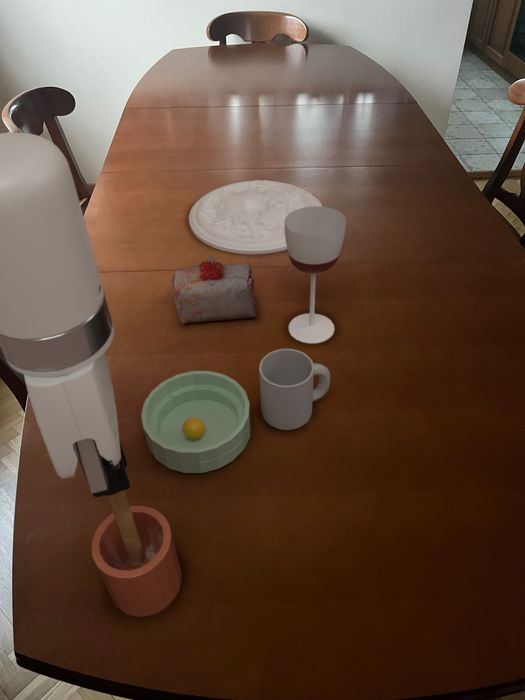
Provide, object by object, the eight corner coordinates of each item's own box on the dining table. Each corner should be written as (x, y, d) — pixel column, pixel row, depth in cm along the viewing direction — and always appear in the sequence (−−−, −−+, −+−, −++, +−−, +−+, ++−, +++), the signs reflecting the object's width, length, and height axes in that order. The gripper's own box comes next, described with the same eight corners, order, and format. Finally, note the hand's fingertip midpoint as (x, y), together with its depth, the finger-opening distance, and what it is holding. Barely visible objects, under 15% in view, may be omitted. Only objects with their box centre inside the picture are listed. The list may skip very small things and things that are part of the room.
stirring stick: (131, 567, 62) (90, 449, 48) (129, 554, 63) (87, 435, 49) (146, 562, 62) (109, 444, 49) (143, 549, 63) (107, 430, 50)
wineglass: (280, 316, 99) (279, 210, 85) (330, 309, 100) (337, 203, 86) (290, 347, 93) (291, 239, 80) (343, 340, 94) (353, 231, 81)
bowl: (156, 487, 75) (149, 464, 72) (141, 407, 85) (135, 383, 82) (263, 460, 78) (262, 436, 74) (236, 385, 88) (234, 361, 84)
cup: (254, 400, 85) (252, 355, 79) (319, 383, 87) (321, 339, 81) (270, 437, 80) (269, 393, 74) (338, 418, 82) (342, 374, 76)
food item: (175, 330, 97) (167, 282, 91) (176, 300, 103) (168, 253, 96) (257, 323, 98) (255, 274, 91) (254, 294, 104) (251, 246, 97)
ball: (197, 414, 81) (197, 435, 82) (178, 416, 79) (177, 438, 80) (209, 418, 79) (208, 440, 79) (189, 421, 77) (189, 443, 77)
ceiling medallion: (352, 218, 121) (353, 204, 119) (245, 272, 109) (244, 257, 107) (265, 172, 137) (264, 159, 135) (163, 214, 125) (161, 200, 123)
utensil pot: (113, 626, 63) (94, 587, 56) (106, 558, 68) (88, 516, 62) (187, 604, 64) (177, 564, 58) (175, 539, 70) (164, 497, 64)
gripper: (1, 270, 45) (65, 425, 58) (-9, 421, 34) (72, 572, 47) (100, 252, 46) (141, 407, 59) (122, 391, 35) (166, 546, 48)
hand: (110, 479), depth 53 cm, fingers closed on stirring stick, 1 cm apart
